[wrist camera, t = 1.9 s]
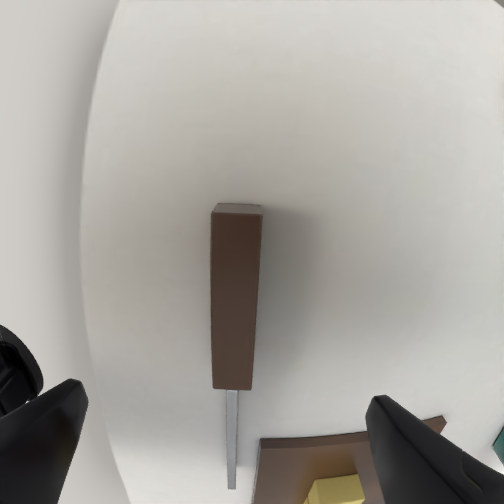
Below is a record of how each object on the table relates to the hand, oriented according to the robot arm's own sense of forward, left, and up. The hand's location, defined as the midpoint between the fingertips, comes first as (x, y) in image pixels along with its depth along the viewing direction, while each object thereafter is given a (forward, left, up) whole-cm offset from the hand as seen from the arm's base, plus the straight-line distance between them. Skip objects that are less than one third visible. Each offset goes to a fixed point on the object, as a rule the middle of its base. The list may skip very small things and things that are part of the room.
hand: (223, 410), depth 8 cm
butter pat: (+9, -19, -7) cm, 22 cm away
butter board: (+10, -21, -8) cm, 25 cm away
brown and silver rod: (0, -6, -8) cm, 10 cm away
